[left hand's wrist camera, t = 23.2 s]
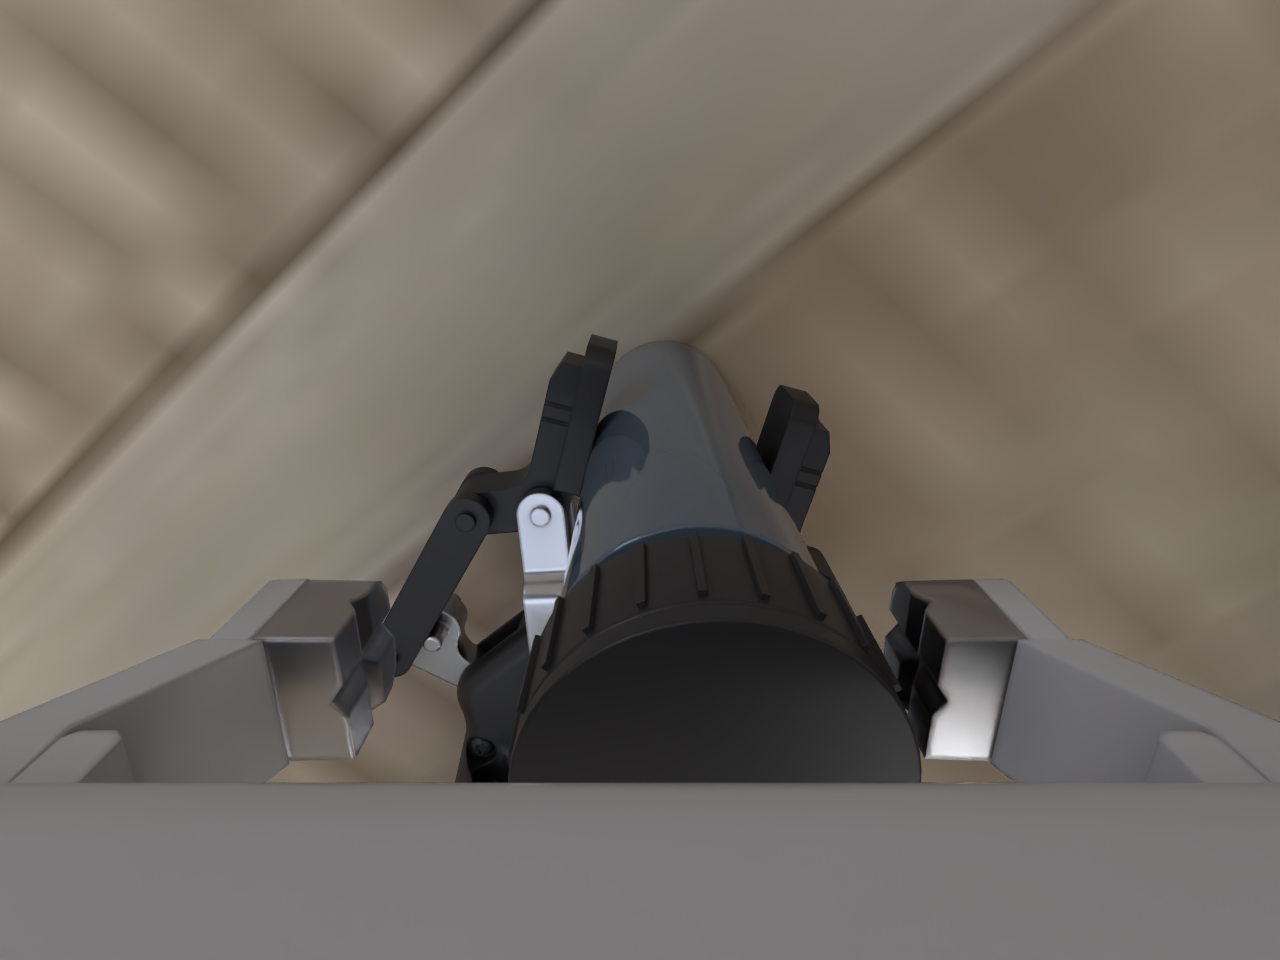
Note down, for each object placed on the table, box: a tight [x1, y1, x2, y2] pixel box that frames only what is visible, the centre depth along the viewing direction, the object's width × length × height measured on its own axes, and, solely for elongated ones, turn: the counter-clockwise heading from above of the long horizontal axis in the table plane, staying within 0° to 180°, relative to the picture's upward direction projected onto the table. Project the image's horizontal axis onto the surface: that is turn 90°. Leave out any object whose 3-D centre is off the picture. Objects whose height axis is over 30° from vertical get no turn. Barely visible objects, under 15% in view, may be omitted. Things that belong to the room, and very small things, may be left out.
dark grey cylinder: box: [560, 341, 819, 598], centre depth 17 cm, size 4×4×17 cm
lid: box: [508, 532, 922, 783], centre depth 9 cm, size 5×5×2 cm
